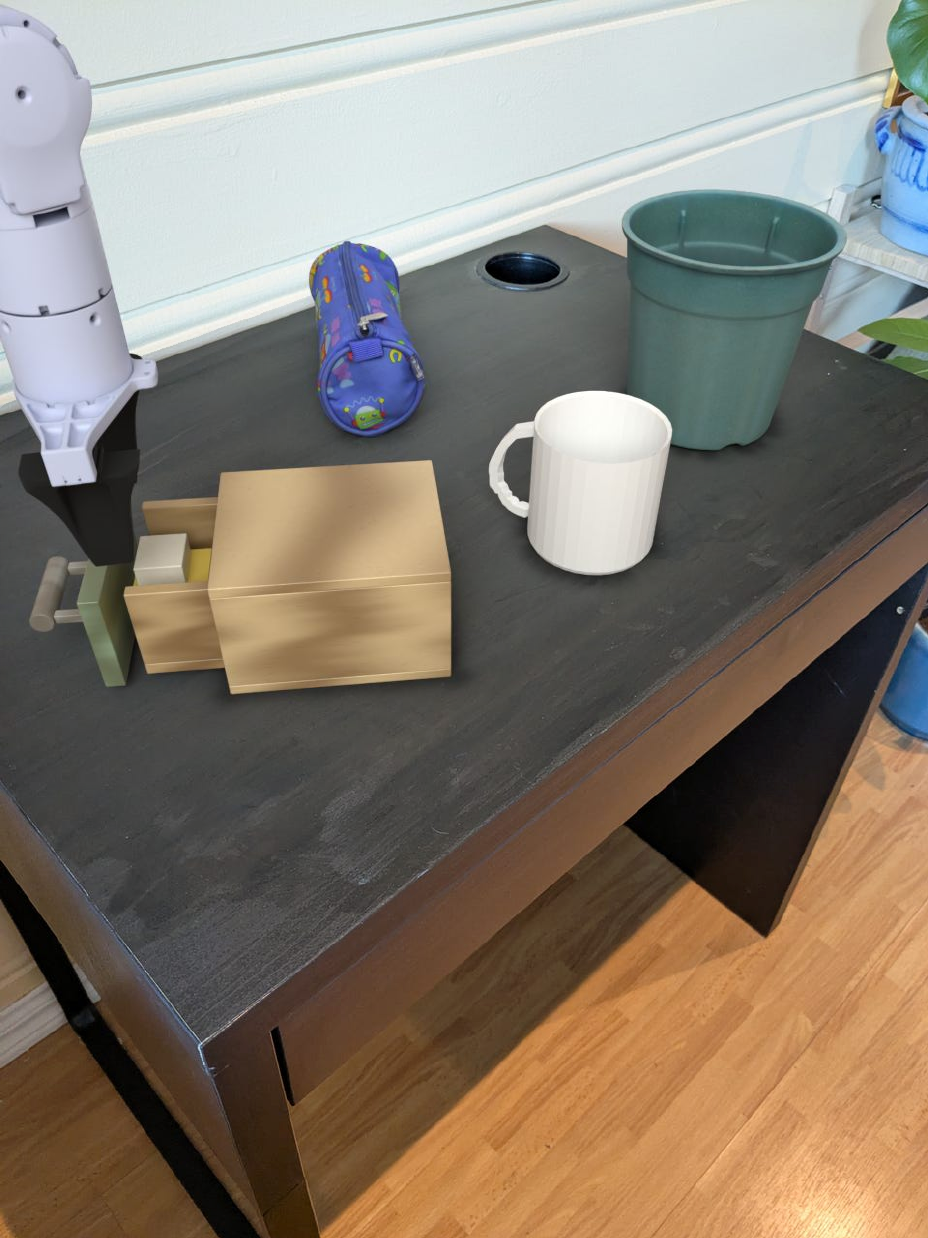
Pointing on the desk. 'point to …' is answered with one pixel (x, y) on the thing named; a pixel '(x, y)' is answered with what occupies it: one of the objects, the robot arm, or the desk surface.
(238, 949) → the desk surface
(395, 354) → the pencil case
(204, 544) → the drawer
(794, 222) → the flower pot
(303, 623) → the cabinet
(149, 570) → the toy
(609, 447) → the mug
